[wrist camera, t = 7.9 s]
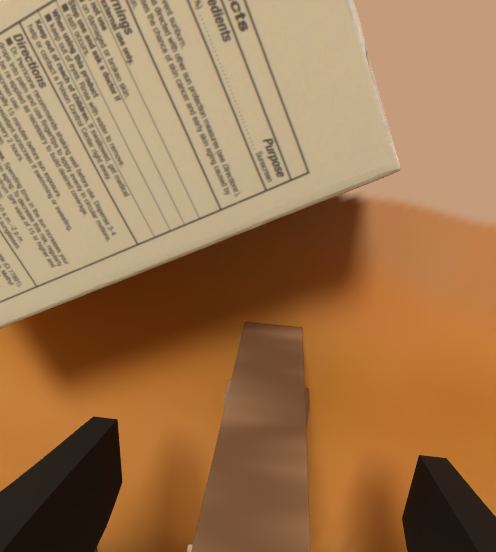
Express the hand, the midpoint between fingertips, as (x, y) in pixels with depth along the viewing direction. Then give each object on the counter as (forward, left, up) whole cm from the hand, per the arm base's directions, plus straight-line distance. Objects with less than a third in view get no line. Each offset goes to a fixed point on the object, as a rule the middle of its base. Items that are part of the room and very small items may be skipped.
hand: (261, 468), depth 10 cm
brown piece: (0, +5, -5) cm, 7 cm away
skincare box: (+10, -4, -3) cm, 12 cm away
